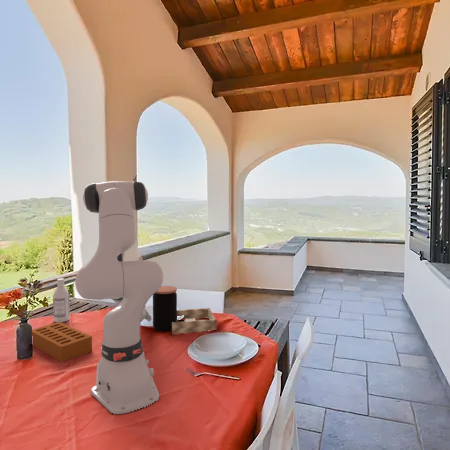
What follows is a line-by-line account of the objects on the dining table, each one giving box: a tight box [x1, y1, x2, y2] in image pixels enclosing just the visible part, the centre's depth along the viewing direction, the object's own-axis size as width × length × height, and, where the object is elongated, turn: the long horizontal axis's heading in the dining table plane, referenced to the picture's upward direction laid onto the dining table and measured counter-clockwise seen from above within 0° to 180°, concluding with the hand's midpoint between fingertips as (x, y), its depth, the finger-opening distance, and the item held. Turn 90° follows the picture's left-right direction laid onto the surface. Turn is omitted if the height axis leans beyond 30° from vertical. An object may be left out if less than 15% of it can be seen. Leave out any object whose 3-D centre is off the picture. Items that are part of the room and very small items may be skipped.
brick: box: [31, 322, 93, 363], centre depth 134 cm, size 25×12×6 cm, turn 53°
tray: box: [171, 307, 217, 335], centre depth 158 cm, size 20×17×5 cm
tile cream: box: [184, 318, 197, 321], centre depth 161 cm, size 5×5×2 cm
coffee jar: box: [152, 285, 178, 333], centre depth 154 cm, size 11×11×18 cm
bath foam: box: [52, 277, 71, 323], centre depth 162 cm, size 7×7×20 cm
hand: (150, 319), depth 153 cm, fingers closed
